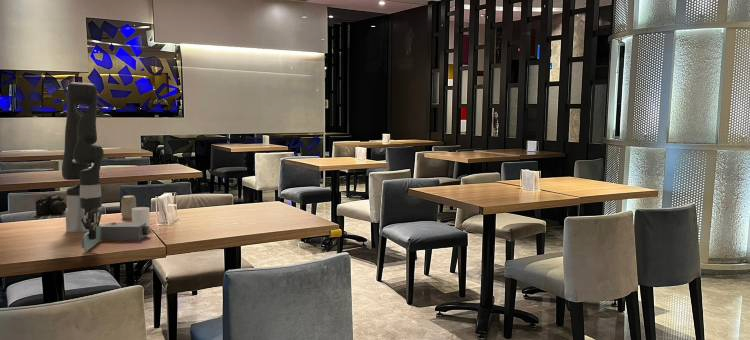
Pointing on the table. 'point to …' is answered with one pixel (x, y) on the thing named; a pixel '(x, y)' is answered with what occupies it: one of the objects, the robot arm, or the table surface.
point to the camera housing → (124, 231)
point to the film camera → (50, 205)
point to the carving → (127, 206)
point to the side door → (90, 243)
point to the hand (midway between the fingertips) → (92, 239)
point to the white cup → (140, 215)
